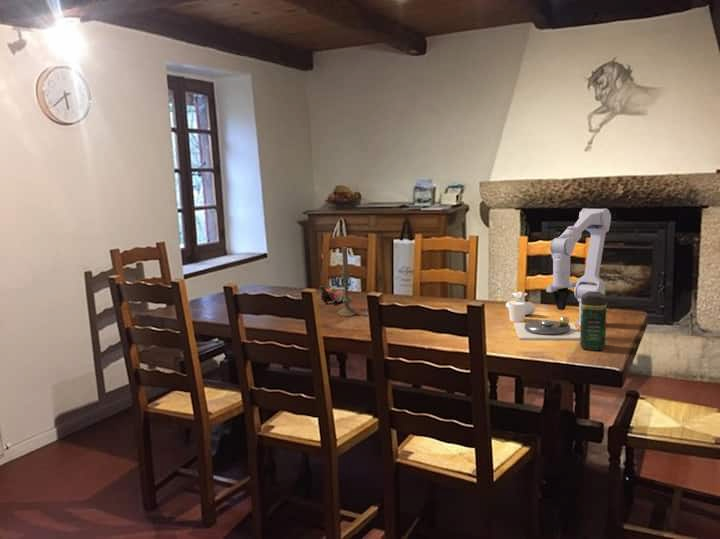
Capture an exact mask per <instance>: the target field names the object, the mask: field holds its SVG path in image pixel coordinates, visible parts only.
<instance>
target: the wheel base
mask: <svg viewBox="0 0 720 539" xmlns="http://www.w3.org/2000/svg"><path fill="white" fill-rule="evenodd" d="M526 323H527V322H513V326H514V329H515V332H516V335H517V338H518V340H519V341H580V333H581V330H580V329H578V327H577V326H576V325H575V323H574V322H569V325H570V331H569V332H566V333H561V334H539V333H533V332H529V331H527V330H525V324H526Z"/></svg>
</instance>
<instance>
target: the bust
mask: <svg viewBox="0 0 720 539" xmlns="http://www.w3.org/2000/svg"><path fill="white" fill-rule="evenodd" d="M512 295H513V296H514V300H515V301H514V300H512V301H510V300H509V301H508V302H506V303H505V308H506V309H507V311H508V313H509V304H508V303H510V302H524V303H526V311H525V316H527V315H533V314H534V313H535V310H536V304H535V303H534V302H531V301H525V300H526V298H525V297H527V296H528V293H524V292H523V291H520V290H519V291H517V292H512Z"/></svg>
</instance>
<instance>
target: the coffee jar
mask: <svg viewBox="0 0 720 539" xmlns="http://www.w3.org/2000/svg"><path fill="white" fill-rule="evenodd" d="M606 330H607V296H606V294H605V295H604V294H602V293H601V292H593V291H588V292H587V293H585V294H583V295H582V297H581V326H580V340H579V344H580V348H582V349H584V350H588V351H600V350H601V351H602V350H604V349H605V347H606V335H607V333H606Z"/></svg>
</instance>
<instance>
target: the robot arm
mask: <svg viewBox="0 0 720 539" xmlns="http://www.w3.org/2000/svg"><path fill="white" fill-rule="evenodd" d="M578 213H579V215H578V219H577V221H576V222H575V223H574V225H571V226H567V228H566V229H565V230H564V231H563V233H562V234H561V235H560V236H558V237H555V238H553V239H552V240H551V242H550V245H549V251H550V254H551V259H552V262H553V263H552V271H553V272H552V283H551V284H549V285H548V286H546V287H545V288H546V289H545V290H546V291H545V293H546V292H547V293H551V295H552V297H553V299H554V301H555V305H556V308H557V310H560V311H564V310H566V307H567V303H568V300H569V298H570V296H571V294H572V293H573V294H574V298H575V299H577V302H579V304H578V306H579V308H578V320H576V321H575V322H576V323H577V324H578V326H579V327H581V297H582V295H583V294H585V293H587V292H588V291H593V292H601V293H602V294H604V295H605V296H606V283H605V281H604V280H603V279H602V278H600V271H601V264H602V257H603V251H604V245H605V240H606V233H608V232H609V231H610V226H611V220H612V215H611V212H610V210H609V209H608V208H586V207H584V208H582V209H581V211H579V212H578ZM584 231H587V232H589V234H590V239H589V245H588V251H587V255H586V256H587V257H586V264H585V270H584V274H583V275H582V276H580V277H579V278H578V279H577V281H573V280H571V255H572V254H573V252H574V249H575V247H576V243H578V242H579V240H580V239H581V238H582V232H584ZM572 288H574V289H573V290H574V291H573V292H572Z"/></svg>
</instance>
